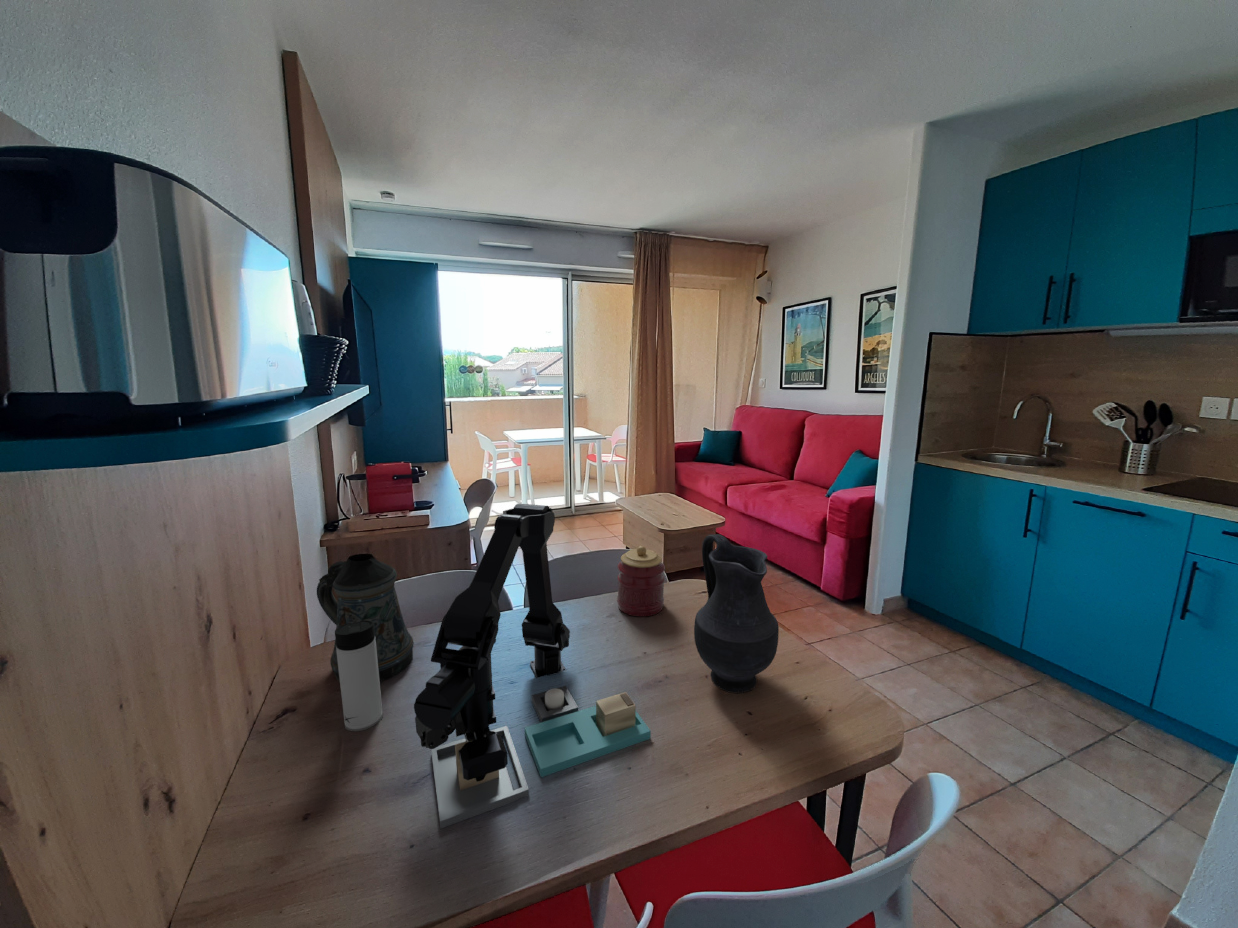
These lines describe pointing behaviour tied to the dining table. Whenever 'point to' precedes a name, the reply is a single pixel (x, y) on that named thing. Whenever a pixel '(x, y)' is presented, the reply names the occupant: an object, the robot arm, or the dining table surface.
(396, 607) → the beer stein
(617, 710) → the block
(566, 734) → the teal block holder tray
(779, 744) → the dining table surface
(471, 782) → the block
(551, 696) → the button
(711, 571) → the pitcher
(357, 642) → the travel mug
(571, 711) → the button housing
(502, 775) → the grey tray
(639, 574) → the canister
